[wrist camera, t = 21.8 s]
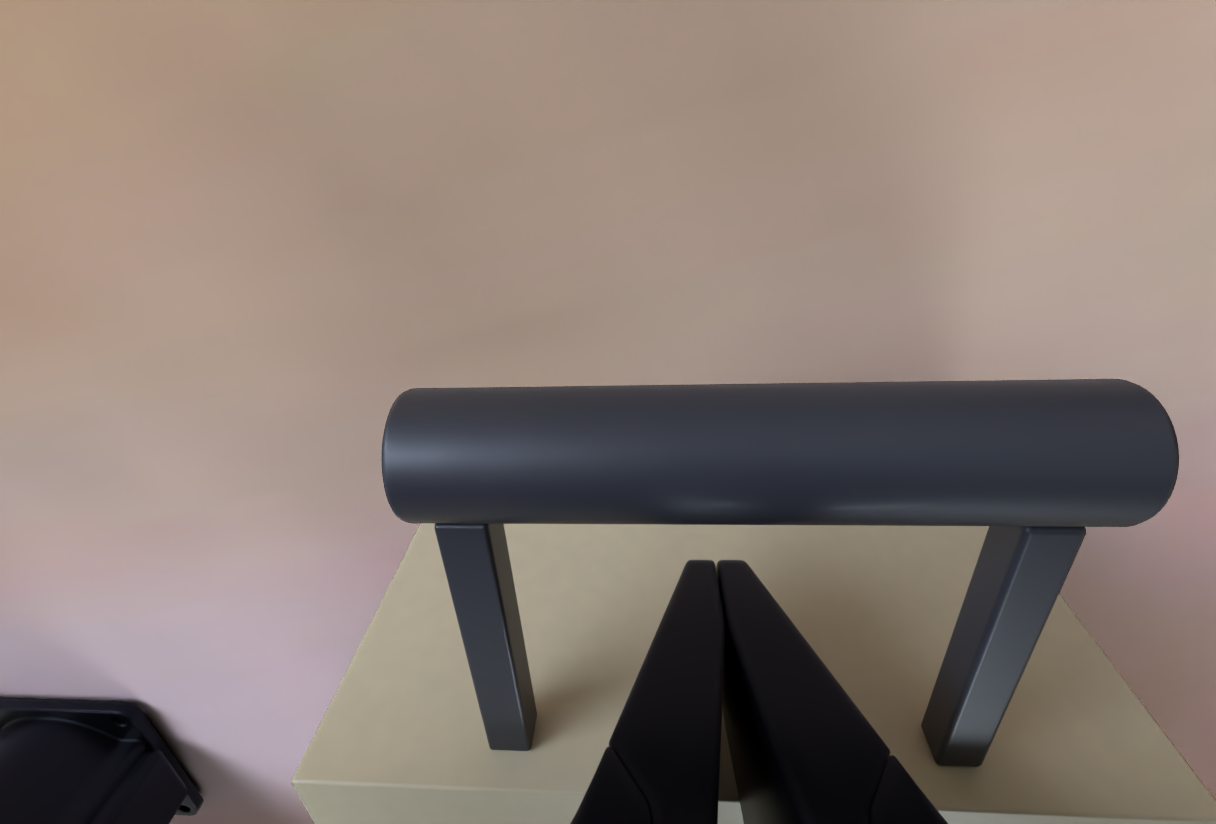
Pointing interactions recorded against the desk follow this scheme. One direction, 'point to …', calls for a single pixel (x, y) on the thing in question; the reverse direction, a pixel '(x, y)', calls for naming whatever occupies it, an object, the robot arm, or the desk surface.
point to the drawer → (787, 566)
